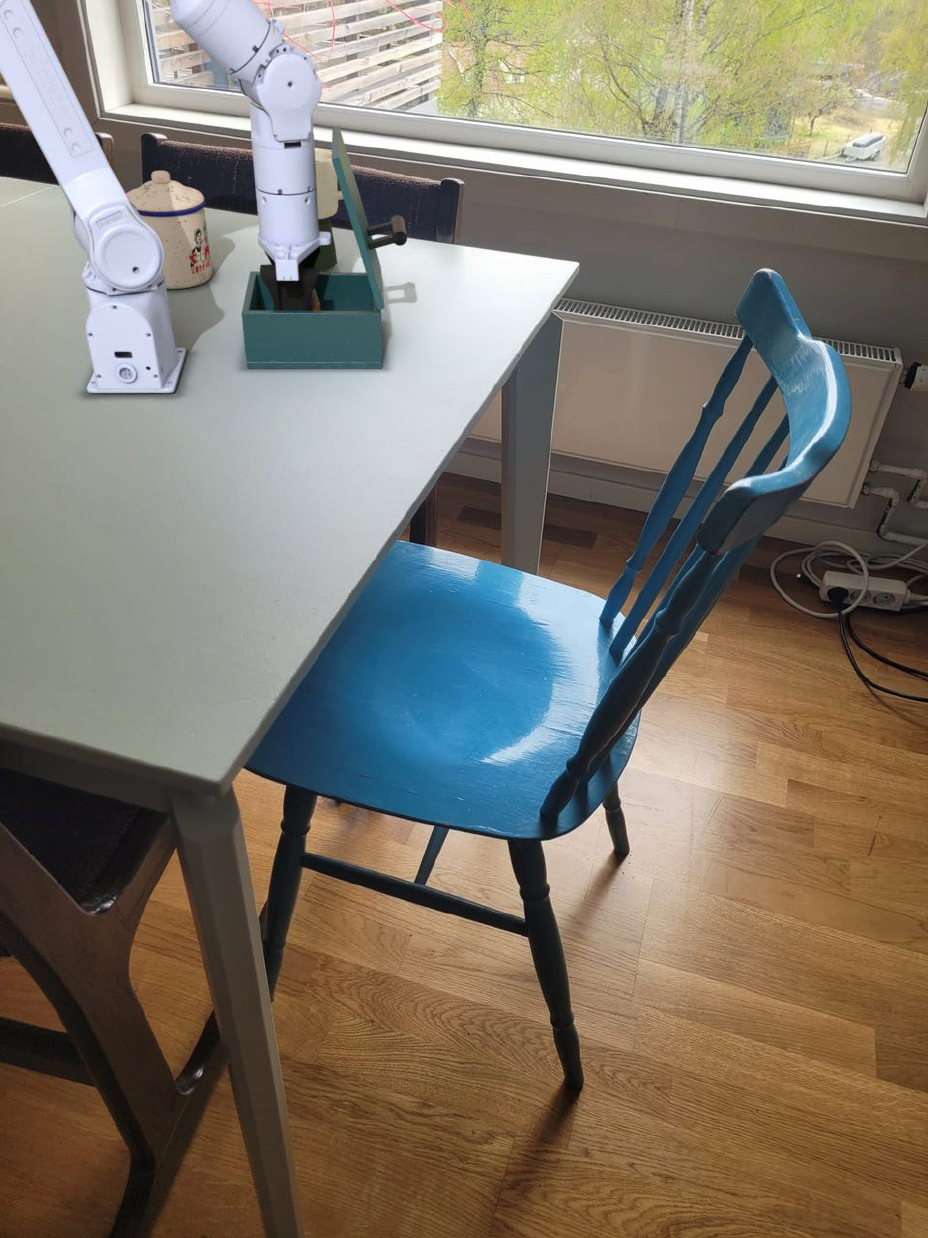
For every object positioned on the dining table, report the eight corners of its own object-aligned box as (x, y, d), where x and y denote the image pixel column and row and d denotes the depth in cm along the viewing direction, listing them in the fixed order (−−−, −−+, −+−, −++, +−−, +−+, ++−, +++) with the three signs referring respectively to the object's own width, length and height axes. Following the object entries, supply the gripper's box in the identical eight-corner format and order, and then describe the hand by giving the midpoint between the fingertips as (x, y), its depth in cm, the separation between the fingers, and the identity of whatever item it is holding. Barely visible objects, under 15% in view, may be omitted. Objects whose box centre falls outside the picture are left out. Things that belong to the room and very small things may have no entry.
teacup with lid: (210, 291, 111) (197, 184, 104) (129, 290, 110) (110, 182, 103) (220, 256, 120) (208, 155, 113) (145, 255, 119) (129, 154, 112)
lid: (331, 158, 84) (380, 144, 84) (332, 127, 93) (376, 114, 93) (377, 310, 93) (422, 298, 93) (374, 269, 102) (415, 258, 102)
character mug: (348, 255, 122) (345, 145, 114) (362, 275, 117) (359, 160, 109) (262, 261, 119) (252, 148, 111) (272, 281, 114) (263, 164, 106)
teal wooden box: (247, 368, 96) (241, 312, 92) (255, 323, 104) (250, 270, 101) (381, 368, 97) (381, 313, 93) (378, 324, 106) (378, 272, 102)
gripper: (327, 210, 85) (334, 355, 94) (329, 166, 97) (335, 299, 105) (247, 209, 85) (261, 355, 93) (258, 165, 96) (269, 299, 104)
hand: (295, 325), depth 99 cm, fingers closed on block, 5 cm apart
